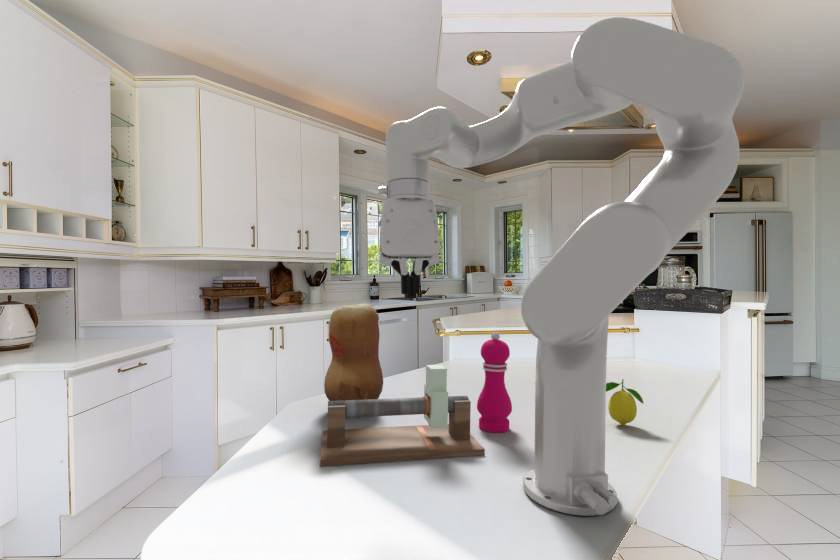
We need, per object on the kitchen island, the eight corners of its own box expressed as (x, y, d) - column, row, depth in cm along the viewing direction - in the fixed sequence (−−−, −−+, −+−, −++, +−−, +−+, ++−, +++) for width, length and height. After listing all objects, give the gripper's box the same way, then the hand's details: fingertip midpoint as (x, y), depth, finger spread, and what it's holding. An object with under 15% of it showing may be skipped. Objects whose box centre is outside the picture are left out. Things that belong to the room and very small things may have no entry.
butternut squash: (313, 409, 98) (316, 302, 98) (361, 399, 107) (363, 302, 107) (345, 424, 88) (347, 305, 88) (395, 412, 96) (397, 304, 97)
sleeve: (447, 427, 76) (448, 369, 76) (431, 428, 75) (432, 370, 75) (438, 416, 82) (439, 363, 82) (423, 417, 81) (424, 363, 82)
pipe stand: (484, 454, 73) (485, 405, 73) (320, 466, 67) (321, 412, 67) (460, 427, 87) (461, 386, 87) (322, 435, 81) (323, 390, 81)
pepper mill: (511, 435, 83) (513, 334, 83) (475, 432, 84) (476, 333, 85) (511, 423, 90) (512, 330, 90) (477, 421, 92) (479, 329, 92)
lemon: (598, 422, 92) (599, 377, 92) (616, 419, 95) (617, 375, 95) (626, 432, 86) (626, 383, 86) (644, 428, 89) (645, 381, 89)
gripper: (367, 188, 69) (369, 299, 68) (454, 190, 72) (457, 297, 71) (364, 198, 76) (366, 299, 75) (443, 200, 79) (446, 297, 78)
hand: (410, 298), depth 73 cm, fingers closed
